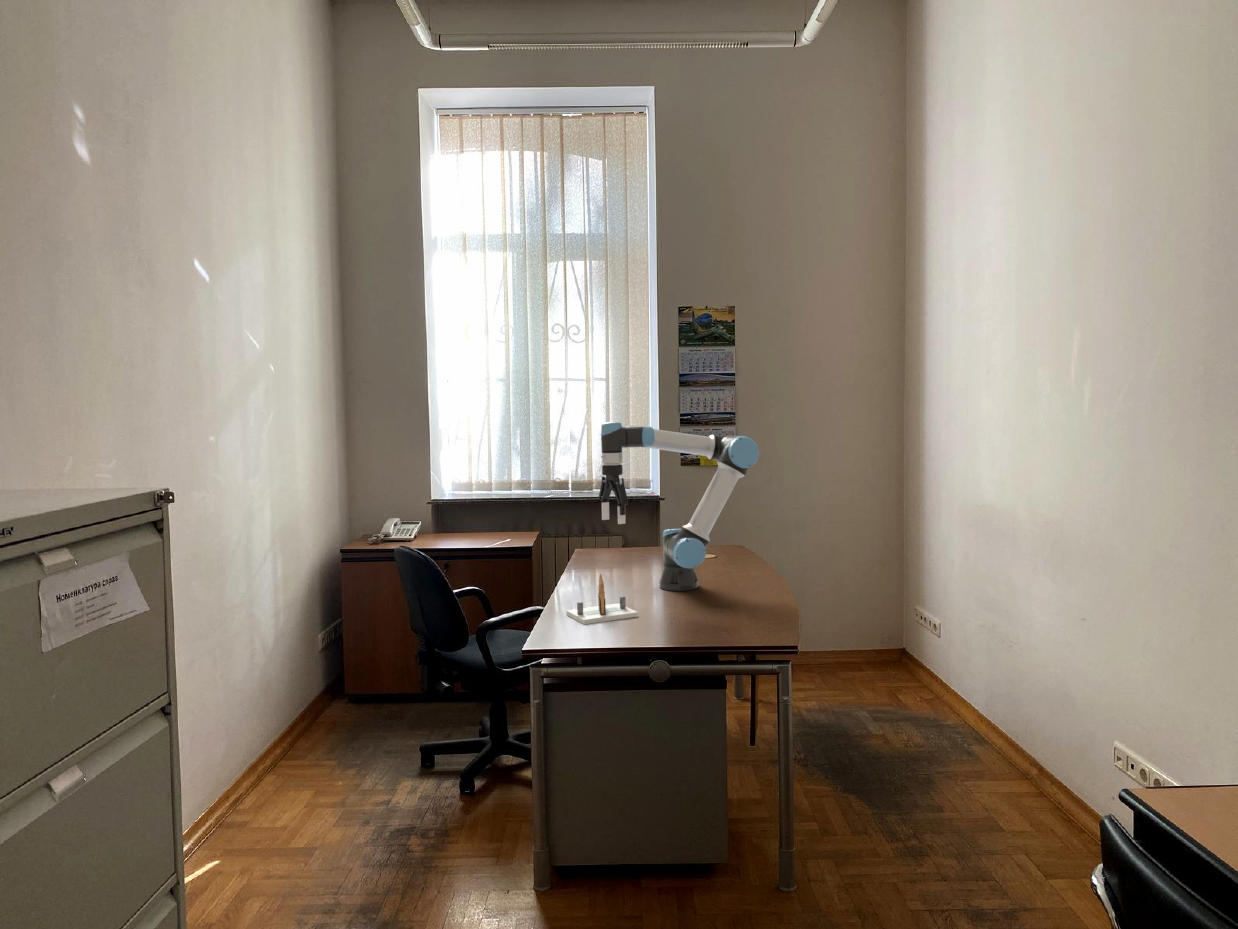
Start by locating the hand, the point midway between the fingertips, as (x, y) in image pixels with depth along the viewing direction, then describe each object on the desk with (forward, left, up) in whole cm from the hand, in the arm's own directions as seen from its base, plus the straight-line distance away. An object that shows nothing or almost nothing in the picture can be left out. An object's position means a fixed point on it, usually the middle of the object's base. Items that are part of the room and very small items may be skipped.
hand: (613, 521), depth 316 cm
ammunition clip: (+15, +21, -27) cm, 37 cm away
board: (+15, +21, -29) cm, 38 cm away
